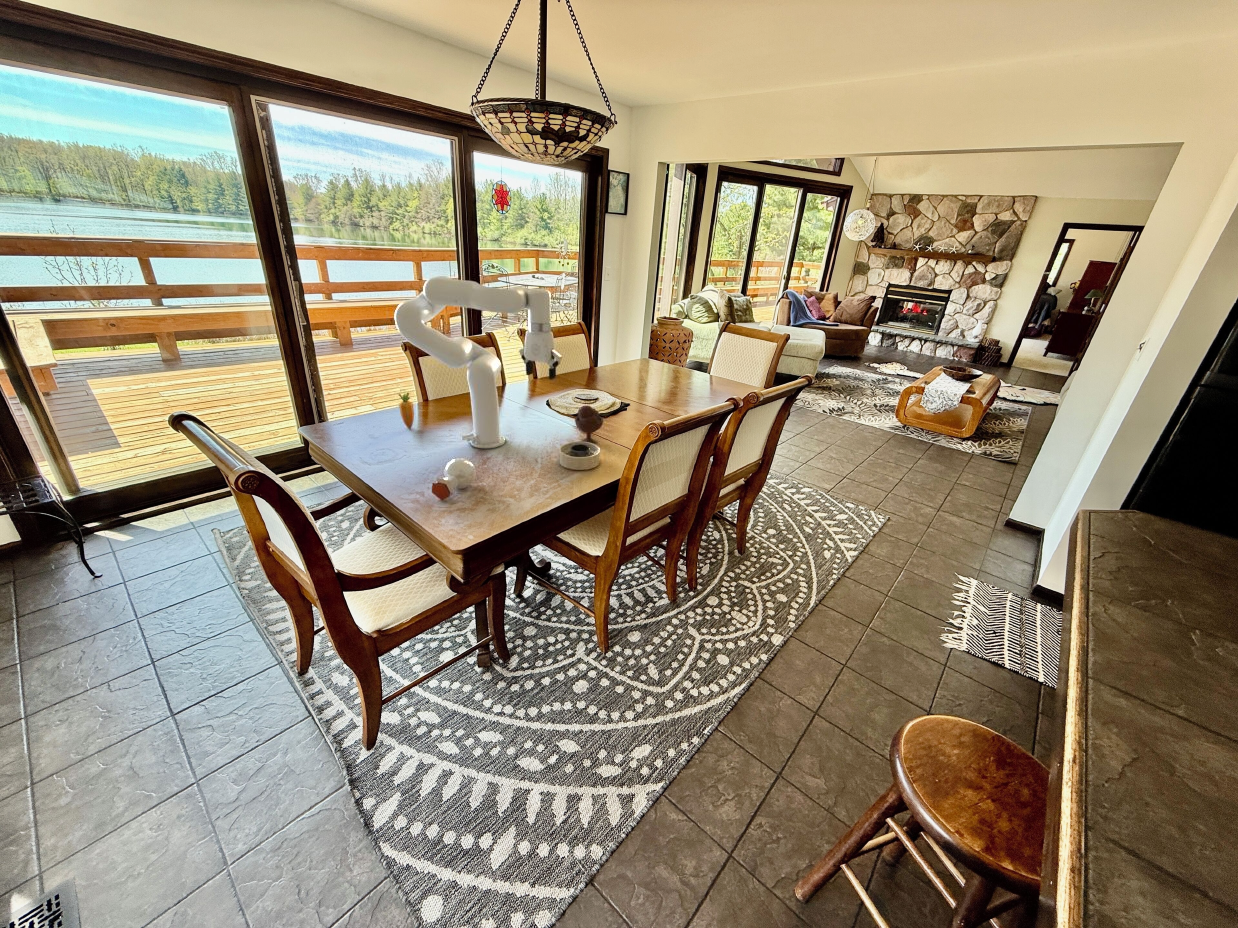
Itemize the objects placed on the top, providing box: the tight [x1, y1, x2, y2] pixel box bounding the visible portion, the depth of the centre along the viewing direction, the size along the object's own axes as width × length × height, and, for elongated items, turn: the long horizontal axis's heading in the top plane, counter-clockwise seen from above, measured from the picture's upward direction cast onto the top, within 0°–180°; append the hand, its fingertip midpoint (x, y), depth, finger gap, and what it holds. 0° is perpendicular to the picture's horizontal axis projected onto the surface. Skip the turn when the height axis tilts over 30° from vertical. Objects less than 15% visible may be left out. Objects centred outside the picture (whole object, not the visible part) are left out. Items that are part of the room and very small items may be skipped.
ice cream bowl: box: [574, 404, 604, 445], centre depth 183 cm, size 11×11×15 cm
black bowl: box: [570, 444, 590, 457], centre depth 168 cm, size 7×7×5 cm
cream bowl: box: [558, 440, 601, 471], centre depth 168 cm, size 14×14×5 cm
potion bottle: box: [431, 457, 477, 501], centre depth 145 cm, size 9×10×15 cm
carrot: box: [397, 391, 415, 430], centre depth 186 cm, size 5×5×15 cm
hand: (540, 376), depth 171 cm, fingers open, 9 cm apart
